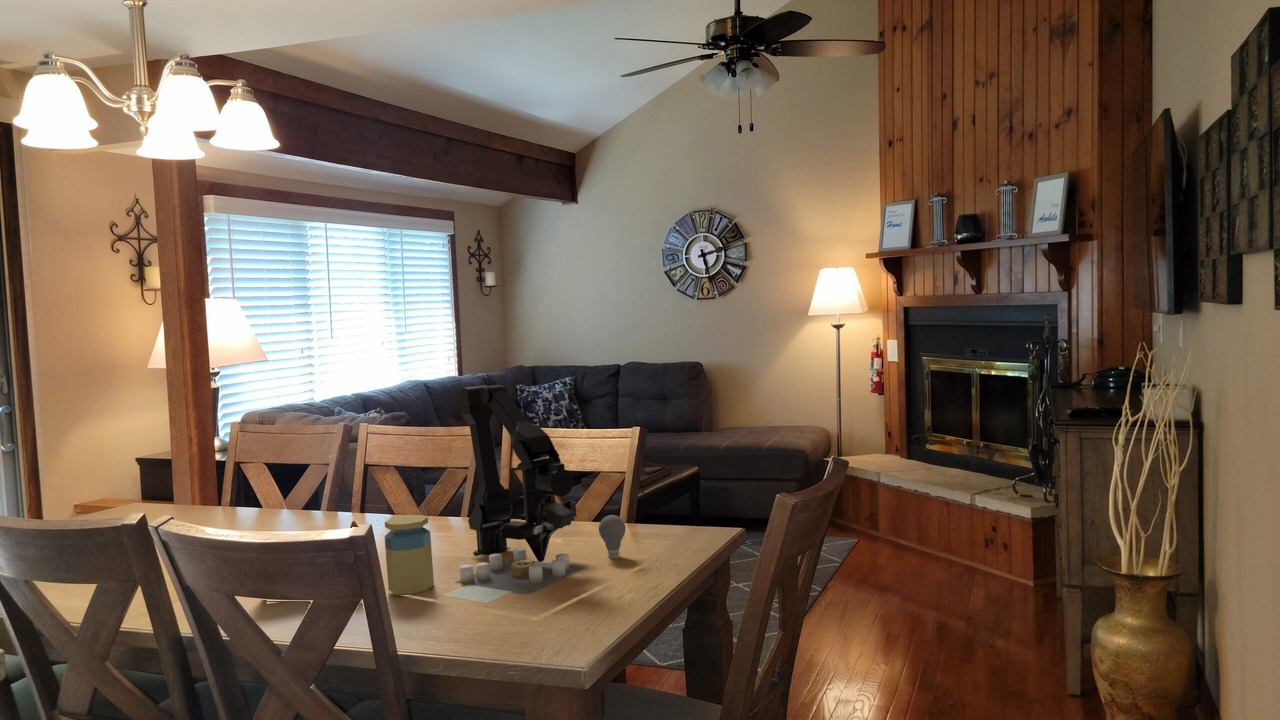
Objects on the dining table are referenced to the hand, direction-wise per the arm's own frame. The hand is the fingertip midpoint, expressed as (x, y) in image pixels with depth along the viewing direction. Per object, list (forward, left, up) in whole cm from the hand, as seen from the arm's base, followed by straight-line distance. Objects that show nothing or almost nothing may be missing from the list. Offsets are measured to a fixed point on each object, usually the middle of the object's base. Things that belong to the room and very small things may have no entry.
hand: (541, 561), depth 199 cm
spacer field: (0, -7, -2) cm, 7 cm away
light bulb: (+11, +12, -2) cm, 16 cm away
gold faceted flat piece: (0, -6, -1) cm, 6 cm away
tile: (0, -20, -2) cm, 20 cm away
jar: (-16, -23, -2) cm, 28 cm away
